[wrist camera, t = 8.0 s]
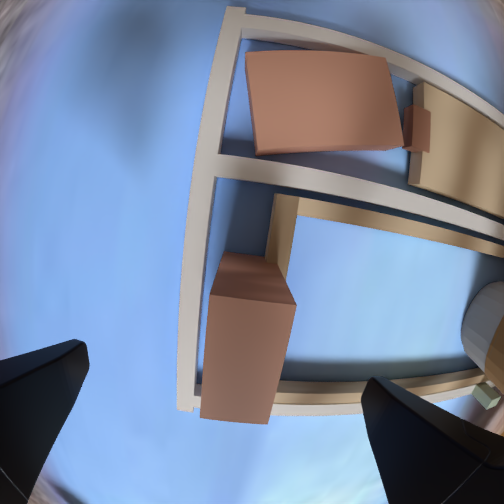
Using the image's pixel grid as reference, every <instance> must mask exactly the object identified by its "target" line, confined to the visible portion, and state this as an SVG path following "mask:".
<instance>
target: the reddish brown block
mask: <svg viewBox="0 0 504 504" xmlns="http://www.w3.org/2000/svg"><path fill="white" fill-rule="evenodd" d="M245 74H246V81H247V89H248V97H249V105H250V113H251V121H252V129H253V138H254V146H255V155H256V156H264V155H275V154H287V153H302V152H322V151H386V150H389V149H393V148H397V147H401V146H404V142H403V135H402V129H401V123H400V117H399V112H398V107H397V102H396V97H395V93H394V88H393V84H392V80H391V76H390V72H389V68H388V64H387V61H386V58H385V57H378V56H371V55H364V54H355V53H345V52H333V51H313V50H275V51H255V52H245Z"/></svg>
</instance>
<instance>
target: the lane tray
mask: <svg viewBox="0 0 504 504" xmlns="http://www.w3.org/2000/svg"><path fill="white" fill-rule="evenodd" d="M242 38H244V39H253V40H261V41H268V42H275V43H281V44H287V45H292V46H297V47H302V48H307V49H311V50H315V51H333V52H345V53H355V54H364V55H371V56H378V57H385V58H386V61H387V64H388V68H389V72H390V74H392V75H394V76H397V77H399V78H402V79H404V80H406V81H409V82H411V83H413V84H416V85H419V84H421V83H422V82H425V83H427V84H429V85H431V86H433V87H435V88H437V89H439V90H441V91H443V92H445V93H446V94H448V95H450V96H452V97H454V98H455V99H457V100H459V101H461V102H462V103H464V104H466V105H467V106H469V107H471V108H472V109H474V110H475V111H477V112H478V113H480V114H482V115H483V116H485V117H486V118H488V119H489V120H490V121H492V122H493V123H495V124H496V125H498V126H499V127H500V128H502V129H503V130H504V114H502V113H501V112H500V111H498V110H497V109H496V108H494V107H493V106H492V105H490V104H489V103H487V102H486V101H485V100H483V99H482V98H480V97H479V96H477V95H476V94H474V93H473V92H471V91H470V90H468V89H466V88H465V87H463V86H462V85H460V84H458V83H457V82H455V81H453V80H452V79H450V78H448V77H446V76H445V75H443V74H441V73H439V72H437V71H435V70H433V69H431V68H430V67H428V66H426V65H424V64H422V63H420V62H417V61H415V60H413V59H411V58H409V57H407V56H404V55H402V54H400V53H398V52H395V51H393V50H390V49H388V48H385V47H383V46H380V45H378V44H375V43H372V42H369V41H367V40H364V39H361V38H358V37H355V36H351V35H348V34H345V33H342V32H338V31H335V30H331V29H327V28H323V27H319V26H315V25H311V24H306V23H302V22H297V21H292V20H286V19H280V18H274V17H267V16H259V15H250V14H246V8H244V7H231V6H227V8H226V11H225V15H224V19H223V23H222V26H221V30H220V34H219V38H218V42H217V46H216V50H215V55H214V59H213V63H212V68H211V72H210V77H209V82H208V87H207V91H206V96H205V102H204V107H203V112H202V118H201V123H200V129H199V135H198V141H197V147H196V153H195V160H194V166H193V173H192V180H191V188H190V195H189V203H188V212H187V220H186V230H185V239H184V250H183V261H182V273H181V287H180V303H179V322H178V348H177V410H181V411H187V412H193V411H194V407H195V408H200V407H201V390H202V384H197V366H198V351H199V337H200V325H201V313H202V301H203V291H204V280H205V271H206V261H207V252H208V243H209V235H210V226H211V218H212V210H213V203H214V195H215V188H216V181H217V177H219V178H227V179H235V180H242V181H249V182H256V183H263V184H270V185H276V186H282V187H288V188H294V189H300V190H306V191H311V192H317V193H322V194H327V195H333V196H338V197H343V198H347V199H352V200H357V201H362V202H366V203H371V204H375V205H379V206H384V207H388V208H392V209H396V210H400V211H404V212H408V213H412V214H416V215H420V216H424V217H427V218H431V219H435V220H438V221H442V222H445V223H449V224H452V225H456V226H459V227H462V228H466V229H469V230H472V231H475V232H478V233H481V234H485V235H488V236H491V237H494V238H497V239H499V240H502V241H504V225H502V224H500V223H498V222H495V221H493V220H490V219H488V218H485V217H482V216H480V215H477V214H475V213H472V212H469V211H466V210H464V209H461V208H458V207H455V206H452V205H449V204H446V203H443V202H440V201H437V200H434V199H431V198H428V197H425V196H421V195H418V194H415V193H411V192H408V191H404V190H401V189H397V188H394V187H390V186H386V185H383V184H379V183H375V182H371V181H367V180H363V179H359V178H355V177H350V176H346V175H341V174H337V173H332V172H328V171H323V170H318V169H313V168H308V167H302V166H297V165H291V164H285V163H280V162H273V161H267V160H261V159H254V158H247V157H239V156H231V155H223V154H221V147H222V141H223V135H224V129H225V123H226V117H227V111H228V105H229V100H230V94H231V89H232V84H233V78H234V73H235V68H236V63H237V58H238V53H239V48H240V43H241V39H242ZM492 387H495V385H494V384H493V383H492V382H491V381H490V380H487V381H484V382H480V383H476V384H473V385H469V386H464V387H460V388H456V389H451V390H446V391H441V392H436V393H430V394H425V395H418V396H419V397H421V398H423V399H424V400H426V401H428V402H430V403H436V402H441V401H445V400H449V399H453V398H457V397H461V396H465V395H469V394H472V395H473V396H474V397H475V398H476V399H477V400H478V401H479V402H480V403H481V404H482V406H483V407H484V408H485V409H486V410H487V409H489V408H492V407H494V406H496V405H497V403H498V401H499V400H500V398H501V396H500V395H499V394H498V393H497V392H496V391H495V390H494V389H493V388H492ZM362 413H363V410H362V406H361V402H351V403H314V404H311V403H273V406H272V410H271V414H270V415H278V416H329V415H349V414H362Z"/></svg>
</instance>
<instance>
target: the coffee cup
mask: <svg viewBox="0 0 504 504" xmlns="http://www.w3.org/2000/svg"><path fill="white" fill-rule="evenodd" d="M461 341H462V344H463V347H464V351H465V352H466V354H467V355H468V356H469V357H470V358H471V359H472V360H473V361H474V362H475V363H476V364H477V365H478V366H479V367H480V368H481V369H482V371H483V372H484V373H485V375H486V376H487V377H488V378H489V379H490V381H491V382H492V383H493V384H494V385H495V386H496V387H497V388H498V389H499V390H500V392H501V393H502V394H503V395H504V282H502V281H498V282H493V283H490V284H488V285H486V286H485V287H483V288H482V289H481V290H480V291H479V292H478V294H477V295H476V296H475V298H474V299H473V301H472V302H471V304H470V306H469V308H468V310H467V312H466V315H465V318H464V320H463V324H462V329H461Z"/></svg>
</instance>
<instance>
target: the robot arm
mask: <svg viewBox="0 0 504 504" xmlns="http://www.w3.org/2000/svg"><path fill="white" fill-rule="evenodd" d="M88 370H89V357H88V351H87V346H86V343H85V342H83V341H80V340H77V339H72V340H69V341H66V342H62V343H59V344H56V345H52V346H49V347H46V348H42V349H39V350H35V351H32V352H29V353H25V354H22V355H18V356H15V357H11V358H8V359H4V360H0V504H27V503H28V500H29V497H30V495H31V492H32V490H33V488H34V485H35V483H36V481H37V478H38V476H39V474H40V472H41V469H42V467H43V465H44V463H45V461H46V459H47V457H48V455H49V452H50V450H51V448H52V446H53V444H54V442H55V440H56V438H57V436H58V434H59V432H60V430H61V429H62V427H63V425H64V423H65V421H66V419H67V417H68V415H69V413H70V412H71V410H72V408H73V406H74V404H75V401H76V399H77V397H78V394H79V392H80V389H81V387H82V384H83V382H84V380H85V377H86V375H87V373H88ZM361 406H362V410H363V415H364V419H365V424H366V429H367V434H368V438H369V441H370V445H371V448H372V451H373V454H374V457H375V460H376V463H377V466H378V470H379V473H380V476H381V479H382V483H383V486H384V489H385V493H386V496H387V499H388V503H389V504H504V437H503V436H500V435H498V434H495V433H492V432H490V431H487V430H485V429H482V428H480V427H478V426H476V425H474V424H471V423H469V422H467V421H465V420H463V419H461V418H459V417H457V416H455V415H453V414H451V413H449V412H447V411H445V410H444V409H442V408H440V407H438V406H436V405H434V404H432V403H430V402H428V401H426V400H424V399H423V398H421V397H419V396H417V395H415V394H413V393H411V392H410V391H408V390H406V389H404V388H402V387H400V386H399V385H397V384H395V383H393V382H391V381H390V380H388V379H386V378H384V377H382V376H374V377H370V378H369V380H368V382H367V384H366V386H365V389H364V391H363V393H362V396H361Z"/></svg>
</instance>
